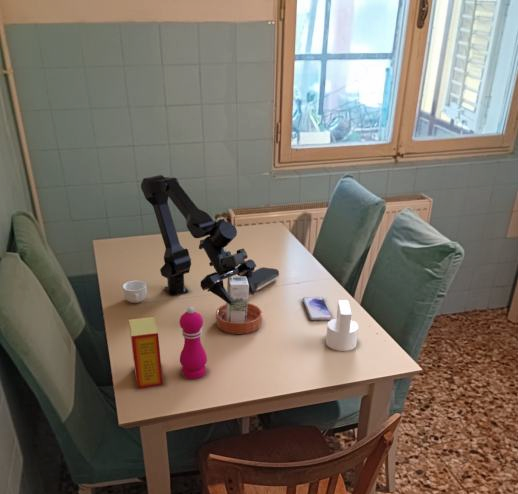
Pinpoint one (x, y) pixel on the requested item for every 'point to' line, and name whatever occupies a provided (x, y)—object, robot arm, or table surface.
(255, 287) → the black sponge
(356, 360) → the table surface
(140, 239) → the table surface
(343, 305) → the cylinder with rectangular tab
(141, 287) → the teacup
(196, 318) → the pepper mill
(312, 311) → the smartphone
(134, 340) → the baking soda box
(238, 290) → the syrup box
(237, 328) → the bowl
